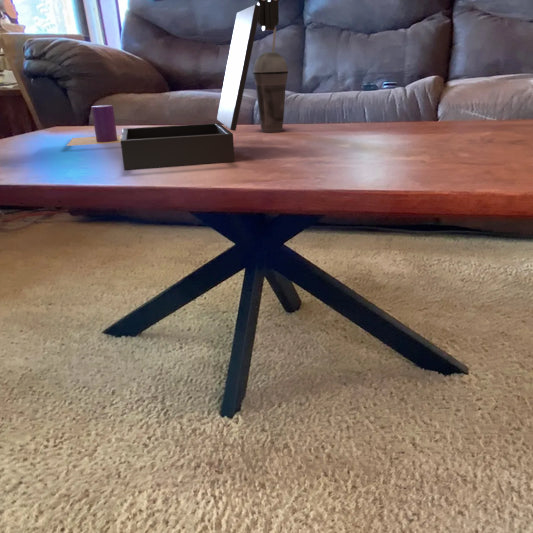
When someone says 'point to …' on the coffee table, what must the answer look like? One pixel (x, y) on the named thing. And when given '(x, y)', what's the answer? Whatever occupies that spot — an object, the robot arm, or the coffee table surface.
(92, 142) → the cork mat
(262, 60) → the beverage cup
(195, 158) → the box
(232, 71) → the lid
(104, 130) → the purple cylinder
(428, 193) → the coffee table surface
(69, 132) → the coffee table surface
